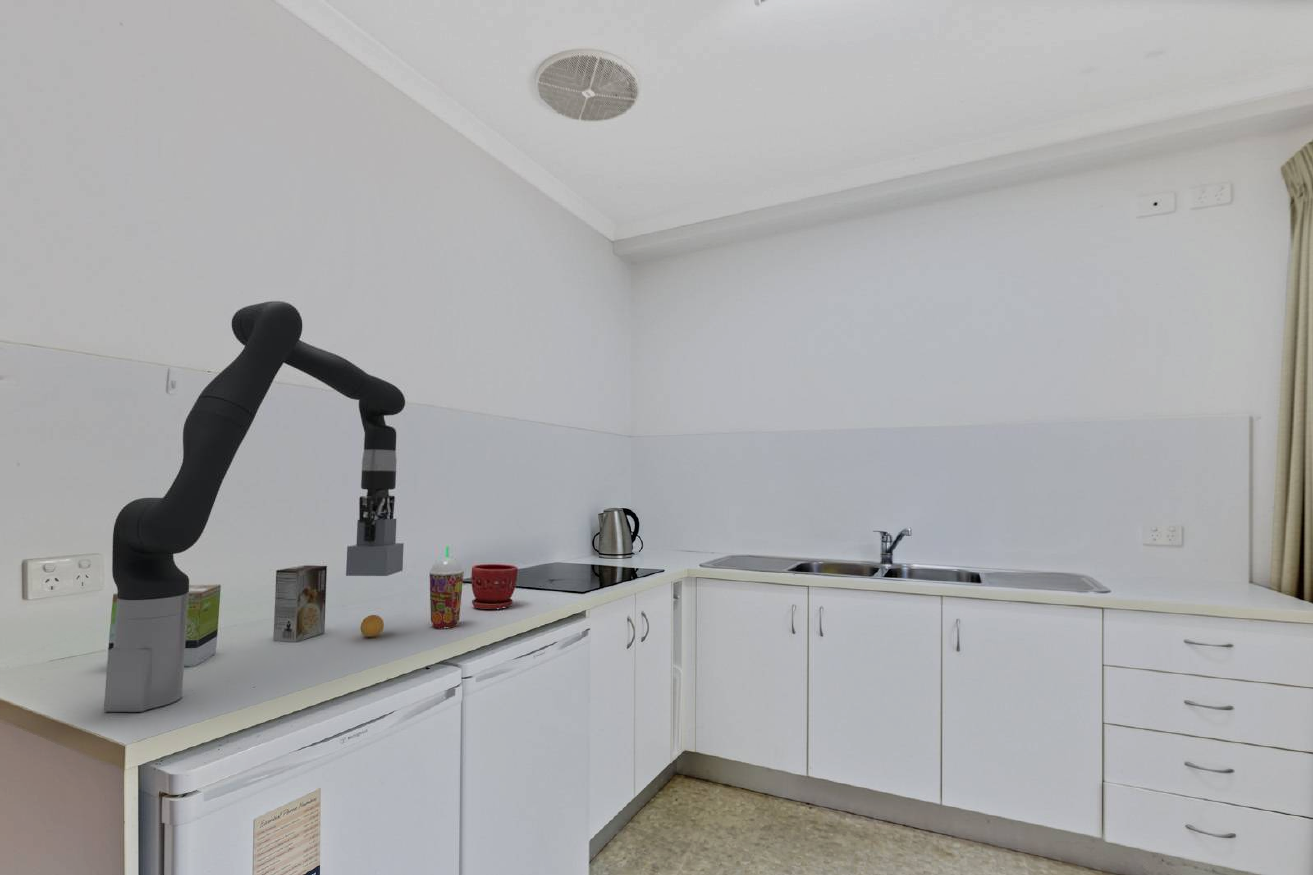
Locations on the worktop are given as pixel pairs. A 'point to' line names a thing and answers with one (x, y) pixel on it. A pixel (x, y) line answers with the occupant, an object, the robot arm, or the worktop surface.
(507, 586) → the plant pot
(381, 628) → the ball
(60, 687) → the worktop surface
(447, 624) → the smoothie
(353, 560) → the stepped grey block
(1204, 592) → the worktop surface
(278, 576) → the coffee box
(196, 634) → the tea box
